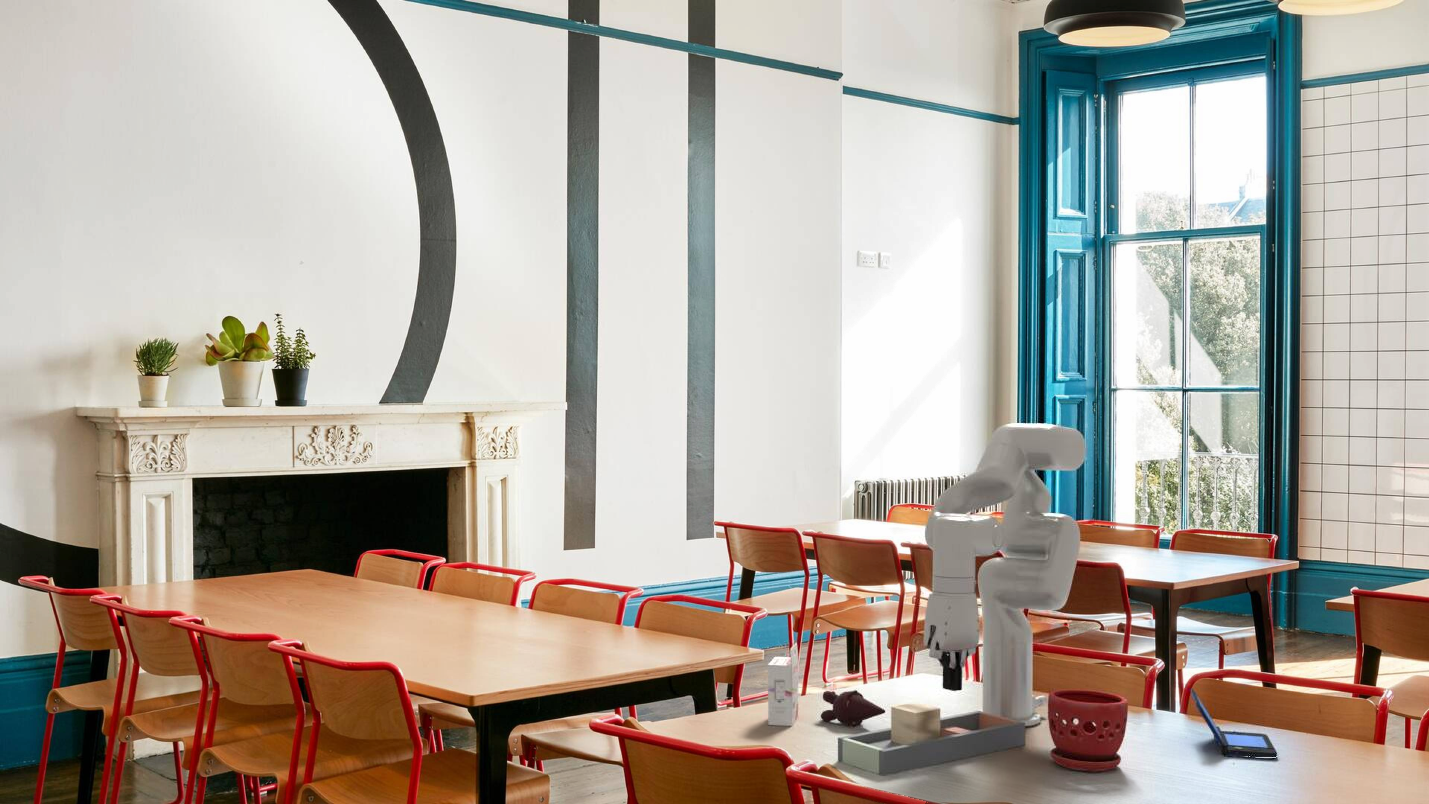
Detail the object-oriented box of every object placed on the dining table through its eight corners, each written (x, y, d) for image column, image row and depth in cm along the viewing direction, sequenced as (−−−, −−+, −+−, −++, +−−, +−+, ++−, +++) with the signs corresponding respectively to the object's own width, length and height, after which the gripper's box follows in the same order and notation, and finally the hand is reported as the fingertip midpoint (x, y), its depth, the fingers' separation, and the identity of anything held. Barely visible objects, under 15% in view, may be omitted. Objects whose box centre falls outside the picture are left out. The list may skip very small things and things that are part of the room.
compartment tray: (977, 732, 250) (977, 710, 250) (1025, 744, 240) (1025, 722, 240) (837, 760, 229) (837, 737, 229) (883, 775, 220) (884, 751, 220)
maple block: (915, 736, 236) (915, 702, 236) (940, 743, 231) (940, 708, 231) (891, 741, 233) (891, 706, 233) (915, 748, 228) (915, 713, 228)
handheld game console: (1278, 762, 230) (1278, 708, 230) (1196, 756, 234) (1196, 703, 234) (1266, 740, 245) (1266, 690, 245) (1189, 735, 249) (1190, 686, 249)
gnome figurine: (897, 694, 253) (835, 689, 263) (874, 690, 248) (812, 685, 258) (894, 731, 251) (832, 725, 261) (871, 728, 246) (808, 722, 256)
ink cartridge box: (773, 715, 263) (774, 640, 263) (798, 716, 262) (799, 641, 262) (766, 725, 254) (767, 648, 254) (792, 726, 253) (792, 649, 253)
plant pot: (1115, 779, 218) (1115, 706, 218) (1037, 768, 225) (1037, 697, 225) (1136, 762, 229) (1136, 692, 229) (1061, 751, 236) (1061, 683, 236)
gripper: (966, 582, 245) (965, 682, 244) (908, 586, 236) (907, 690, 236) (998, 586, 239) (996, 688, 238) (939, 590, 230) (937, 697, 230)
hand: (952, 689), depth 237 cm, fingers closed
